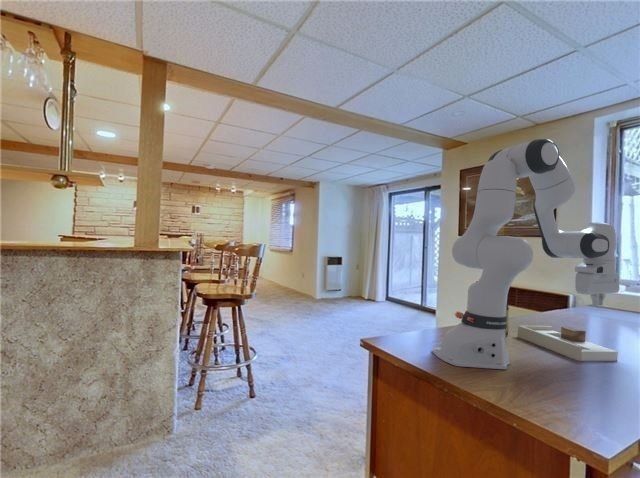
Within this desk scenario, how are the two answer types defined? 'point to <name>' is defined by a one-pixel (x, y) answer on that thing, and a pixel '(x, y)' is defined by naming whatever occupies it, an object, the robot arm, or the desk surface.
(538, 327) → the board
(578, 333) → the walnut block
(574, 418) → the desk surface
